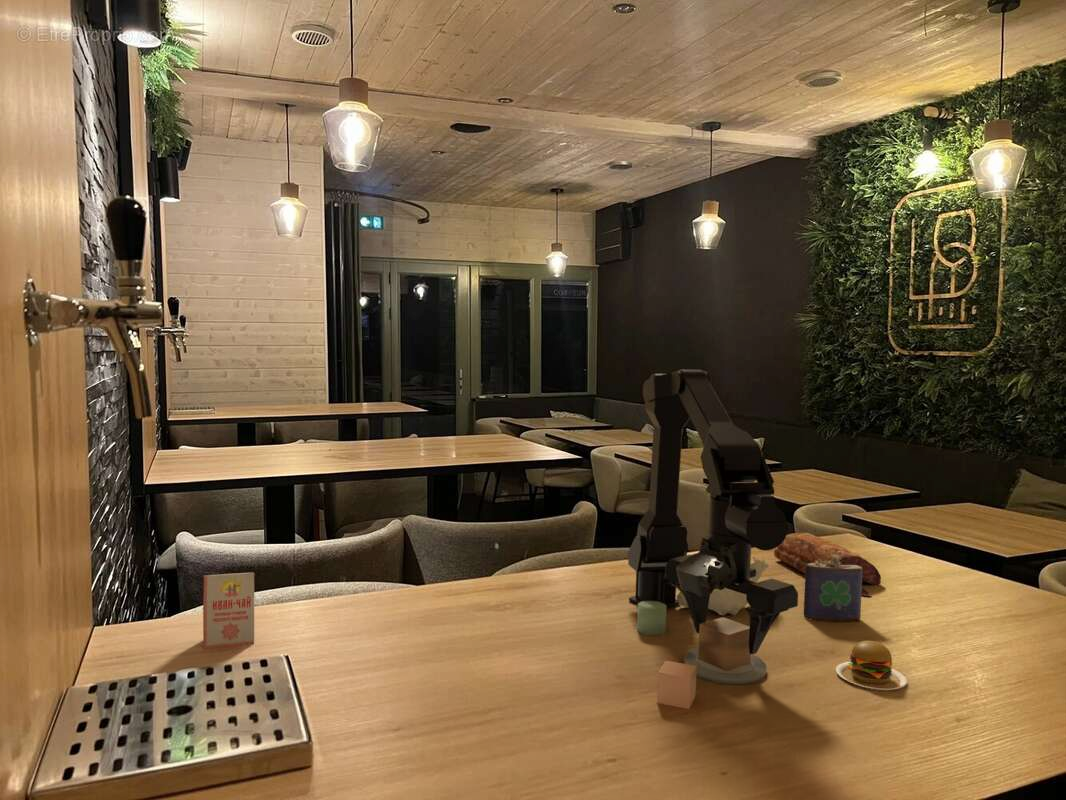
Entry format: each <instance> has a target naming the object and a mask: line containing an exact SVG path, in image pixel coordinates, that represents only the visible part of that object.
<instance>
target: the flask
mask: <svg viewBox="0 0 1066 800" xmlns="http://www.w3.org/2000/svg"><path fill="white" fill-rule="evenodd" d="M840 560H841V558H840ZM822 563H825V564H822ZM822 563H818V561H815V563H809V564H807V565H806V566H805V570H806V572H805V573H804V594H803V595H804V596H803V598H804V599H803V600H804V601H803V616H804V617H805V618H807V619H806V620H809V619H811V620H810V621H815V620H822V621H821V622H829V621H830V622H839V621H848V622H849V621H850V622H851V621H855V622H860V620H861V618H862V617H861V615H862V614H861V612H862V609H861V608H862V595H861V594H862V588H863V581H862V572H863V568H862V567H860V566H857V565H840V564H841V562H839V556H838V555H833V558H832V560H831V561H828V563H826V562H822ZM804 617H803V618H804ZM805 618H804V619H805Z"/></svg>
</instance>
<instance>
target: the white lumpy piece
mask: <svg viewBox="0 0 1066 800" xmlns="http://www.w3.org/2000/svg"><path fill="white" fill-rule="evenodd" d="M752 559H753V560H751V561H750V568H753V569H756V576H755V577H751V578H750V580H749V581H753V582H756V583H757V582H759V579H761V577H762V575H763V573H764V572H765V571H766V569H768V568H769V567H770V566H769V565H770V564H768V562H767V560H766V559H764V557H760V558H756V557H755V556H752ZM737 585H738V584H737ZM676 599H677V600H678V602H679V604H678V605H680V606H682V607H684V608H689V607H688V604H687V601H686V599H685V596H684V595H683V593H682V592H681V591H679V593H678V594H677V595H676ZM747 604H748V602H747V600H746V594H743V593H739V592H736V591H733V590H730V589H727V588H724V589H723V590H719V589H714V590H713V592H712V593H711V594H710V599H709V605H708V610H711V611H714V612H715V613H717V614H718V615H719V616H725V615H727V614H729V615H732V616H737V614H738V613H739V611H741V609H743V608H746V606H747Z"/></svg>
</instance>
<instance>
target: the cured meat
mask: <svg viewBox="0 0 1066 800" xmlns="http://www.w3.org/2000/svg"><path fill="white" fill-rule="evenodd" d="M833 555H838V556H839V562H841V564H840V565H857V566H860V567H862V568H863V572H862V583H863V582H864V583H868V584H870V585H871V584H872V585H871V586H873V585H874V586H880V585H881V584H882V581H881V579H882V577H881V574H880V572H879V570H878V569H877V567H876V566H875V565H873V564H872V563H871V562H869V561H868V560H867V559H865V558H864V557H862V556H861V555H859V554H858V553H856V552H854V551H852V550H849V549H848V548H845V547H843V546H841V545H840V544H838V543H836V542H833V541H830V540H828V539H825V538H821V537H819V536H817V535H814V534H812V533H809V532H797V533H796V532H795V533H790V534H787V535H786V538H785V539H784V541H783V542H782V543H781V544H780V545H779V546H778V547H776V548H774V549H773V556H774V557H775V558H776V559H777V560H779V561H781V562H783V563H786V564H787V565H789V566H790V567H793V568H795V570H797V571H799V572H800V573H803V574H805V572H806V570H805V566H806V565H807V564H809V563H815V561H818V563H822V562H826V563H828V561H831V560H832V558H833ZM840 558H841V560H840ZM822 564H825V563H822ZM879 584H880V585H879ZM861 596H865V597H872V595H871V594H870V593H869V591H867V590H866V589H865V588H863V587H862V594H861Z"/></svg>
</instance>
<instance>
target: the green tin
mask: <svg viewBox="0 0 1066 800" xmlns="http://www.w3.org/2000/svg"><path fill="white" fill-rule="evenodd" d="M636 621H637V622H636V626H637V627H636V630H637V632H638V633H640V634H643V635H647V636H662V635H664V634H665V633H666V632H667V631H666V629H667V627H666V623H667V607H666V605H665V604H663V603H661V602H657V601H642V602H640V603H638V604H637V620H636Z"/></svg>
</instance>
